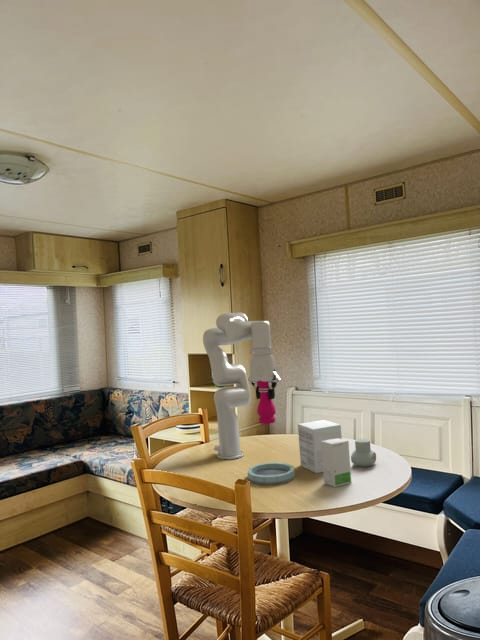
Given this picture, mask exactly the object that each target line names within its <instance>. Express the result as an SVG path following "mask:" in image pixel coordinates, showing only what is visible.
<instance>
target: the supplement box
mask: <svg viewBox="0 0 480 640" xmlns="http://www.w3.org/2000/svg"><path fill="white" fill-rule="evenodd" d="M297 429H298V432H297V434H298V445H299V446H298V447H299V460H300V461H299V462H300V466H301V467H303V468H305V469H307V470H309V471H311V472H313V473H315V474H319V473H323V458H322V444H321V441H325V440H329V439H337V438H339V439H343V438H342V425H341V424H339V423H336V422H333V421H330V420H326V419H320V420H313V421H309V422H301V423H297Z"/></svg>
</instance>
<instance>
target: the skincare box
mask: <svg viewBox="0 0 480 640" xmlns="http://www.w3.org/2000/svg"><path fill="white" fill-rule="evenodd" d="M321 444H322V458H323V472H322V473H323V483H324V484H325V485H327V486H330V487H332V488H337V487H342V486H344V485H349V484H352V471H351V470H352V469H351V455H350V446H349V445H350V444H349V440H347V439H344V438H342V439H339V438H337V439H329V440H325V441H321Z"/></svg>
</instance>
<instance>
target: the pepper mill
mask: <svg viewBox="0 0 480 640" xmlns="http://www.w3.org/2000/svg"><path fill="white" fill-rule="evenodd" d="M271 384H272V382H271ZM257 385H258V386H259V392H260V400H259V403H258V406H257V410H256V411H257V415H258V416H259V418H258V422H259V424H261V425H262V424H263V425H268V424H273V423H276V417H275V414H276V413H277V412H276V411H277V410H276V407H275V404H274V402H273V399H271V400H270V399H269V393H268V389H270V388H269V385H268V382H263V381H261V380H260V381H258V382H257Z"/></svg>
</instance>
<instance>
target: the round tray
mask: <svg viewBox="0 0 480 640" xmlns="http://www.w3.org/2000/svg"><path fill="white" fill-rule="evenodd" d="M295 475H296V474H295V466H294V465H291V464H289V463H284V462H278V461H277V462H265V463H258V464H255V465H253V466H251V467H248V469H247V478H248V481H249V483H252V484H254V485H258V486H279V485H285V484H288V483H289V482H292V481H293V480H294V479H295Z"/></svg>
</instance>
